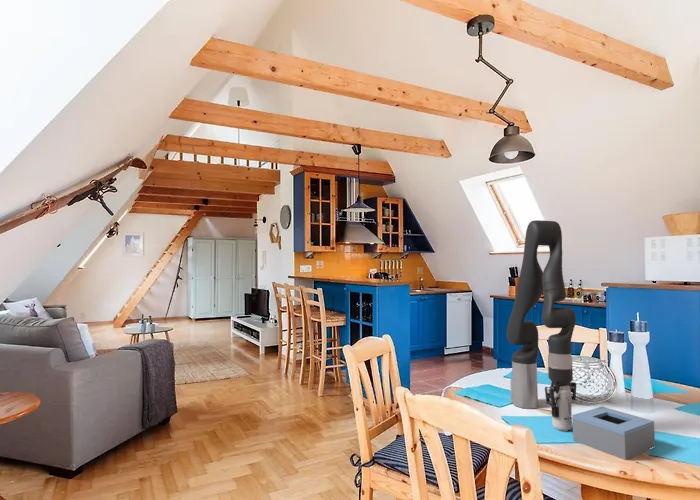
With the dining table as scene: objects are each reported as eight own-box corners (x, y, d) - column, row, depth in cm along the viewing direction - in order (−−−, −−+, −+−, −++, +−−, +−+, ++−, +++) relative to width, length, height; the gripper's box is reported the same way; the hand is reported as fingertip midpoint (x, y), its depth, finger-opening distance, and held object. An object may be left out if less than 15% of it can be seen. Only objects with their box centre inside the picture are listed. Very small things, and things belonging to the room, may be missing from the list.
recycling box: (573, 440, 138) (572, 415, 138) (602, 430, 146) (601, 406, 146) (625, 459, 124) (624, 431, 125) (655, 447, 132) (653, 421, 132)
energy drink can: (569, 433, 144) (568, 387, 144) (550, 429, 148) (548, 384, 148) (574, 428, 148) (572, 383, 149) (555, 424, 152) (554, 381, 153)
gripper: (563, 361, 156) (564, 408, 155) (536, 366, 149) (538, 415, 148) (583, 365, 149) (585, 414, 148) (556, 370, 142) (558, 422, 141)
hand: (561, 415), depth 148 cm, fingers closed on energy drink can, 6 cm apart
